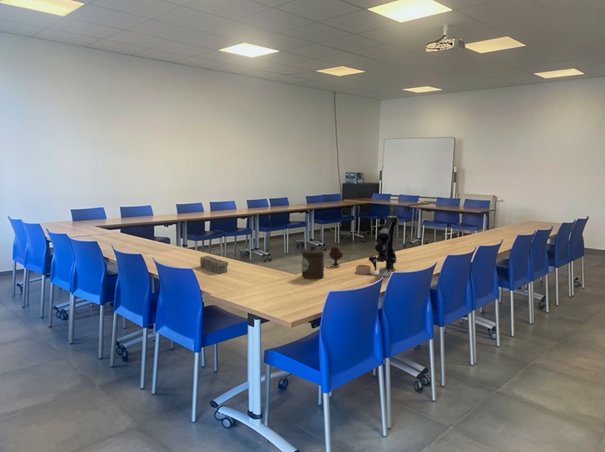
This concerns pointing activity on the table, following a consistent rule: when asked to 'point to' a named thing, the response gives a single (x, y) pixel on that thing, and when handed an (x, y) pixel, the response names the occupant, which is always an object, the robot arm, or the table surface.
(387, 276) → the mat
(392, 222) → the robot arm
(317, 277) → the wooden container
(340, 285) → the table surface
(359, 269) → the bowl
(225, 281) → the table surface
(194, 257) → the table surface
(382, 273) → the lid
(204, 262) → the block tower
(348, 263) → the table surface
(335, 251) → the brown egg chair
